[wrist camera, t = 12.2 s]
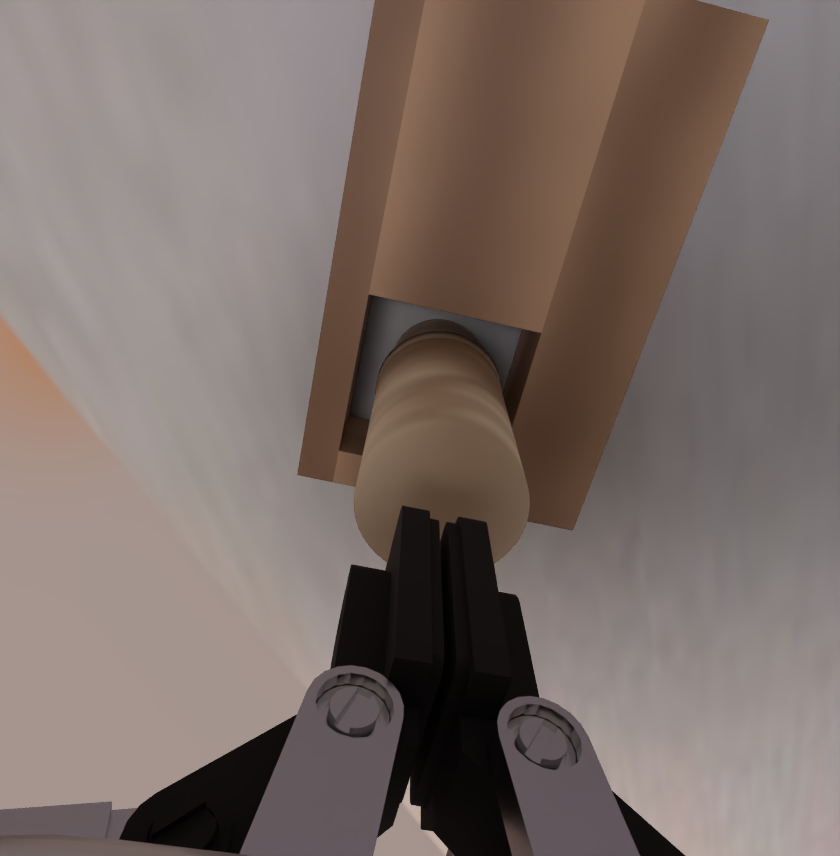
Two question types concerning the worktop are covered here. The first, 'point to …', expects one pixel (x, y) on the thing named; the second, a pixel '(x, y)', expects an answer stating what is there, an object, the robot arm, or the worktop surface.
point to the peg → (440, 441)
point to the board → (526, 203)
